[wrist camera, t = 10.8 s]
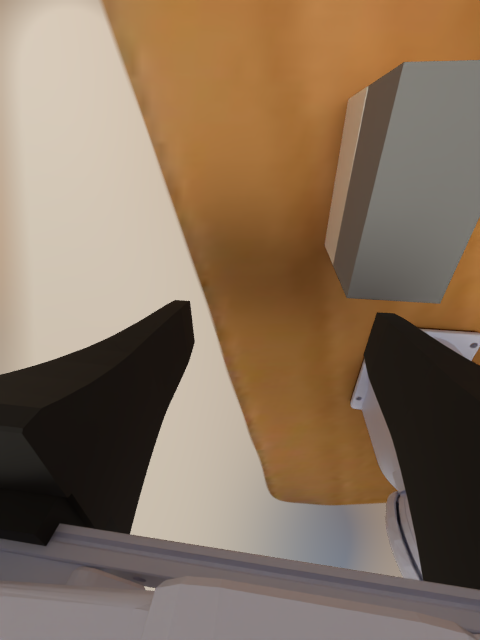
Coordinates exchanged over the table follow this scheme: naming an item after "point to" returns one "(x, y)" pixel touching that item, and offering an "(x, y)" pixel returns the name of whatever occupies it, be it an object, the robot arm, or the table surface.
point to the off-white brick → (344, 168)
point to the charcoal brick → (412, 183)
